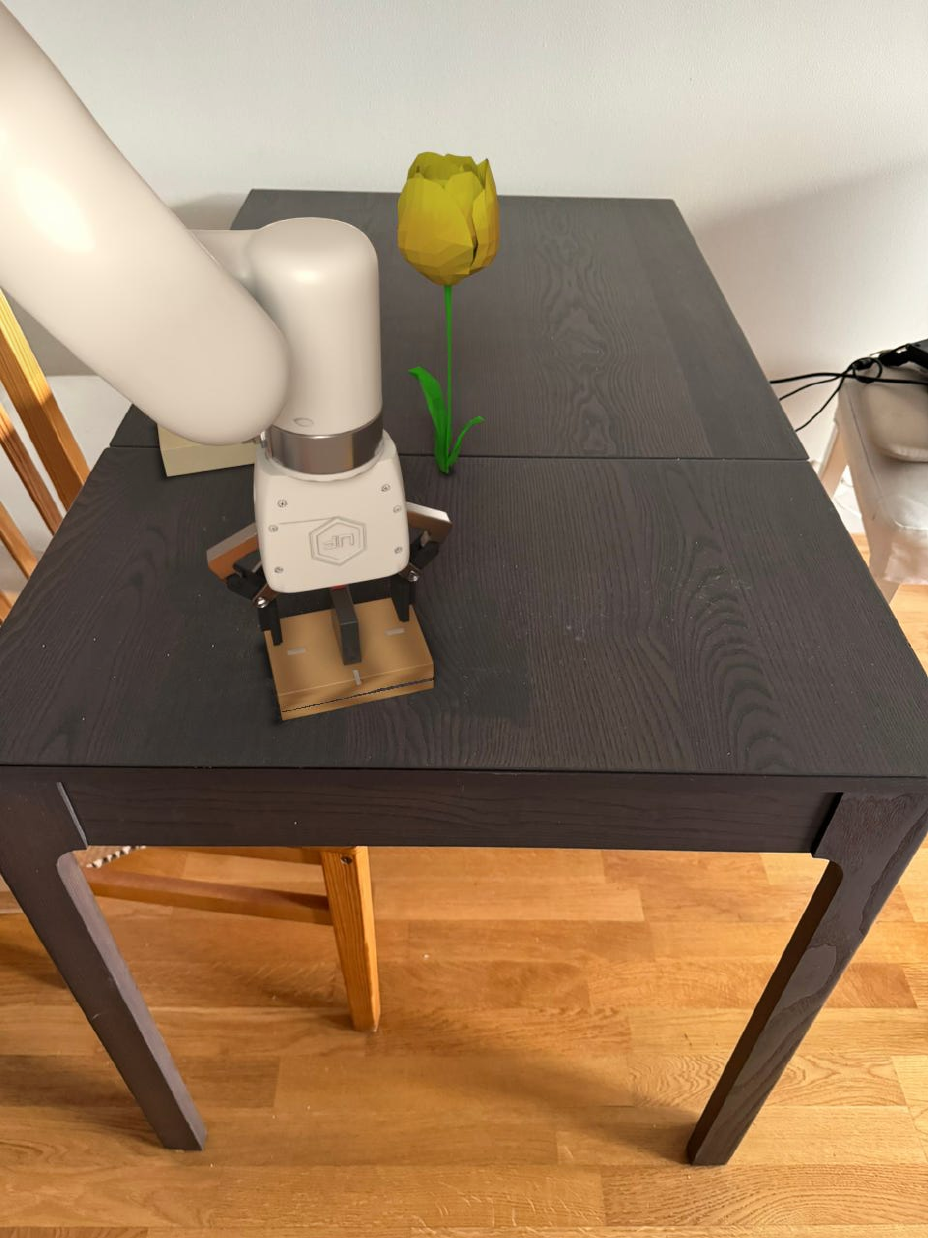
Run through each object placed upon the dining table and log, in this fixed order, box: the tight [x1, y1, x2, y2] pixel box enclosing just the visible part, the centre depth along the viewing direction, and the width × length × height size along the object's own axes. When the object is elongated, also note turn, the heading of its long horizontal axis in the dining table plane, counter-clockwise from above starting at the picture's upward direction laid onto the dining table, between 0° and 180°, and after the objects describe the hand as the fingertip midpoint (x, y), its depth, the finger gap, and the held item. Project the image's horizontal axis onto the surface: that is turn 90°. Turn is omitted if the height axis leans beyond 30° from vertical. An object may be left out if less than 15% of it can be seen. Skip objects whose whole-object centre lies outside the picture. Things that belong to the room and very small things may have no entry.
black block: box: [327, 584, 361, 665], centre depth 71 cm, size 5×1×5 cm, turn 16°
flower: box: [396, 151, 501, 474], centre depth 83 cm, size 9×8×30 cm
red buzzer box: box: [156, 423, 258, 477], centre depth 95 cm, size 12×9×5 cm
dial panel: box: [263, 597, 435, 721], centre depth 74 cm, size 12×9×3 cm
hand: (338, 621), depth 71 cm, fingers open, 9 cm apart
